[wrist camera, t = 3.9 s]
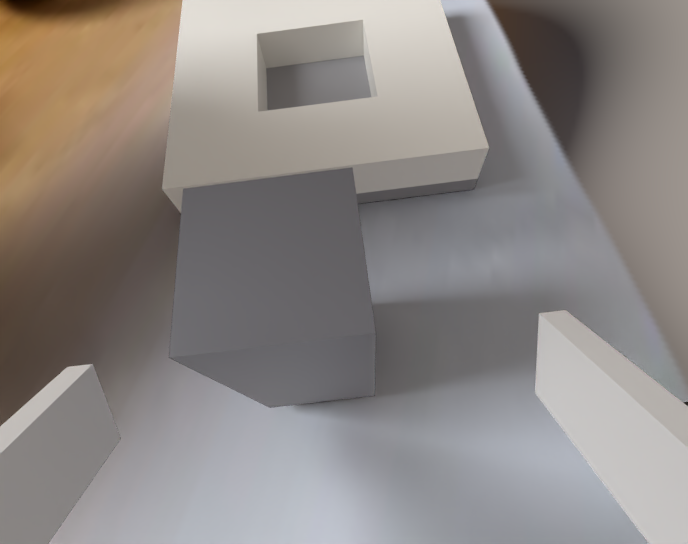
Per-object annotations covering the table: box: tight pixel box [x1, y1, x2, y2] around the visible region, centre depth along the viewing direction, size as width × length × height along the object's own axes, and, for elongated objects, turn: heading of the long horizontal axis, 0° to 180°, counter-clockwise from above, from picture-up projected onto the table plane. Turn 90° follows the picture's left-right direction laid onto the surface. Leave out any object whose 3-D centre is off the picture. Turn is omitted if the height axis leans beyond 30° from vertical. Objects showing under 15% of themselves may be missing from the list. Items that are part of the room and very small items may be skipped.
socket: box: [162, 0, 489, 213], centre depth 26 cm, size 17×16×4 cm
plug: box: [169, 167, 376, 408], centre depth 15 cm, size 5×5×11 cm
